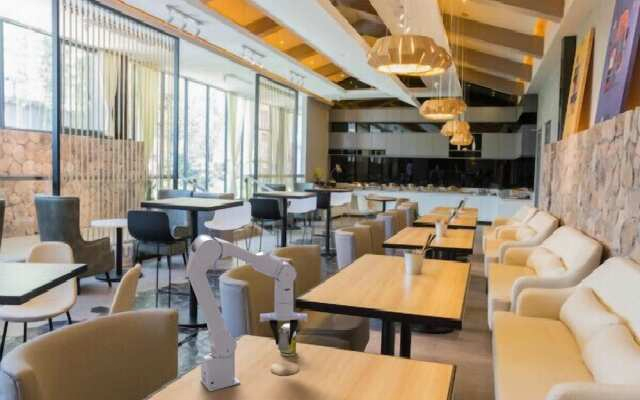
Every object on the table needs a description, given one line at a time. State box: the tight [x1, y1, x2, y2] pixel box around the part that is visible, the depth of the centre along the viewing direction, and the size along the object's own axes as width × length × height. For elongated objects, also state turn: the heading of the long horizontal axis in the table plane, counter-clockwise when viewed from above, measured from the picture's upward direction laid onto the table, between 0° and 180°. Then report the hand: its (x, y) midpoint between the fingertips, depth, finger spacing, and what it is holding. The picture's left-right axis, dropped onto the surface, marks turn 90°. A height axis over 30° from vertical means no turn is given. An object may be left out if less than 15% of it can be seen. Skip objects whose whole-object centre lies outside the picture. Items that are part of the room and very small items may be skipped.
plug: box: [277, 325, 289, 352], centre depth 156 cm, size 3×3×7 cm
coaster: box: [269, 361, 300, 376], centre depth 158 cm, size 9×9×1 cm
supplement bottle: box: [279, 323, 297, 357], centre depth 170 cm, size 5×5×10 cm
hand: (283, 343), depth 156 cm, fingers closed on plug, 3 cm apart
